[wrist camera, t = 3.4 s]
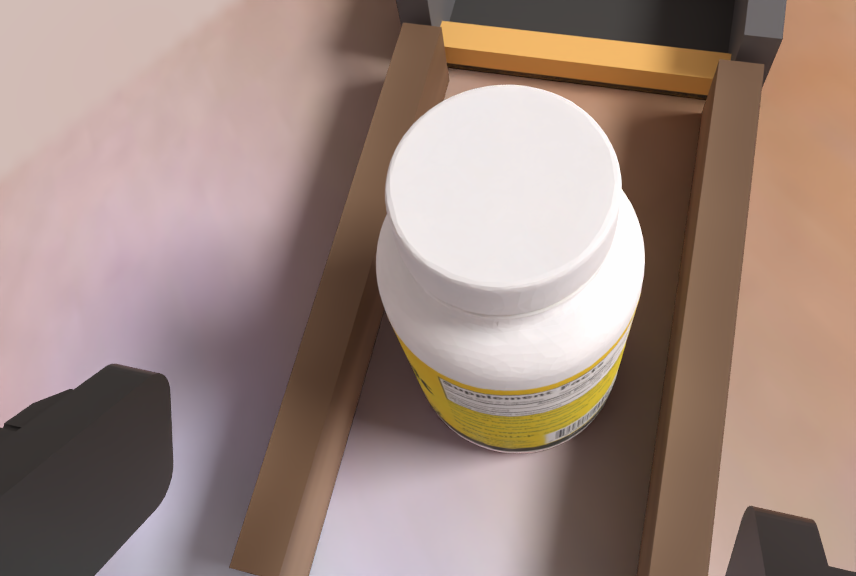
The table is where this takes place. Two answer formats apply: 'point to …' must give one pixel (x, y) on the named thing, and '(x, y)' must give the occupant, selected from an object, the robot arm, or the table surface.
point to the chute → (362, 311)
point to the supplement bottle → (510, 265)
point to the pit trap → (606, 39)
